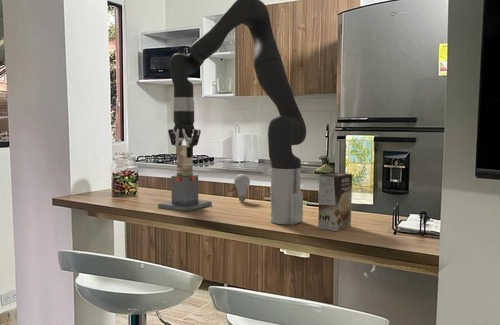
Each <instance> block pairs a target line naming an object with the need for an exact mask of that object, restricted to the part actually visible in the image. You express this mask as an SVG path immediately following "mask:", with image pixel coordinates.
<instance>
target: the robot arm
mask: <svg viewBox="0 0 500 325" xmlns="http://www.w3.org/2000/svg"><path fill="white" fill-rule="evenodd" d="M270 18H271V17H270V13H269V10H268V7H267V5H266V4H265V3H264V2H263V1H261V0H235V1H234V2H233V3H232V4H231V5H230V7H228V9H227V10H226V11H225V12H224V14H223V15H221V17H220V18H219V19H218V20H217V21H216V22H215V23H214V25H213V26H212V27H210V29H209V30H207V31H206V32H205V33H204V34H203V35H202V36H200V37H199V38H198V39H197V40H195V41H194V42H193V43H192V44H191V45H190V47H189V52H190V53H188V54H183V53H179V52H177V53H174V54H173V55H172V56H171V57H170V58H169V64H168V66H169V68H168V69H169V74H170V77H171V81H172V85H173V104H172V106H173V110H172V112H173V123H174V126H173V128H170V129H168V130H167V132H168V136H169V140H170V144H171V146H175V150H176V151H175V152H176V156H177V146H179V145H183V142H186V143H185V145H187V147H188V148H187V158H191V157H192V158H193V156H194V147H195V146H198V144H199V139H200V135H201V133H202V131H201V129H197V128H195V126H194V124H195V101H194V100H195V99H194V84H193V83H192V81H190V80H189V79H188V76H189V75H192V74H194V73H195V72H197V71H198V70H199V69H200V67H202V65H203V64H204V63H205V61H206V60H207V59H209V57H211V56H212V55H214V54H215V53H216V52H218V50H219V49H220V48H221V47H222V45H223V44H224V41H225V39H226V38H227V36H228V35H229V33H230V32H231V31H233V30H234V29H235V28H237V27H238V26H240V25H244V26H246V28H248V30H249V33H250V34H251V38H252V40H253V44H254V52H253V67H254V72H255V75H256V78H257V81H258V84H259V86H260V87H261V89H262V90H263V91H264V93H265V94H266V95H267V96H268V98H269V99H270V100H271V101H272V102H273V104H274V105H275V107H276V110H277V111H278V114H279V115H277V116H275V117H273V118H272V119H271V120H270V122H269V124H268V130H267V144H268V156H269V161H270V163H271V165H270V166H271V167H270V222H271V223H273V224H277V225H297V224H299V223H301V222H303V219H304V217H303V216H304V213H303V211H304V210H303V209H304V203H303V202H304V192H303V191H301V182H302V181H301V180H302V178H301V175H302V174H301V173H302V170H301V167H302V161H301V159H300V157H298V156H296V155H295V154H294V152H293V149H292V148H293V147H292V146H297V145H301V144H302V143H303V142H305V140H306V137H307V127H306V123H305V120H304V118H303V115H302V113H301V111H300V108H299V106H298V104H297V102H296V99H295V97H294V94H293V91H292V89H291V84H290V82H289V79H288V77H287V72H286V69H285V66H284V63H283V60H282V56H281V54H280V51H279V48H278V46H277V42H276V39H275V36H274V33H273V27H272V22H271V19H270Z"/></svg>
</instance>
